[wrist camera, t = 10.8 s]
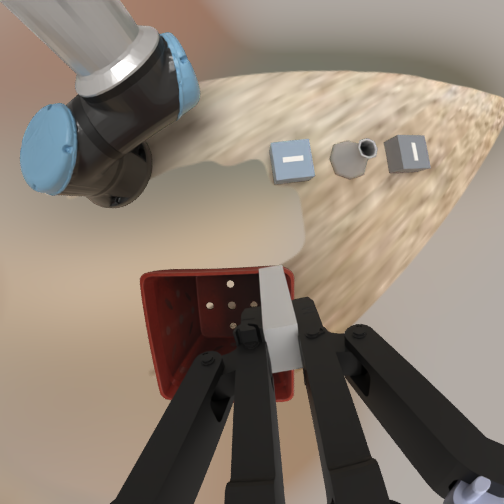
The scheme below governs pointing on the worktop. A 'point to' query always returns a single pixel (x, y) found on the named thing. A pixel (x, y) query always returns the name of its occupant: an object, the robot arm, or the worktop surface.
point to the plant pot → (200, 319)
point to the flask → (352, 157)
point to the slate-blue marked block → (291, 161)
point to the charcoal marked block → (407, 153)
